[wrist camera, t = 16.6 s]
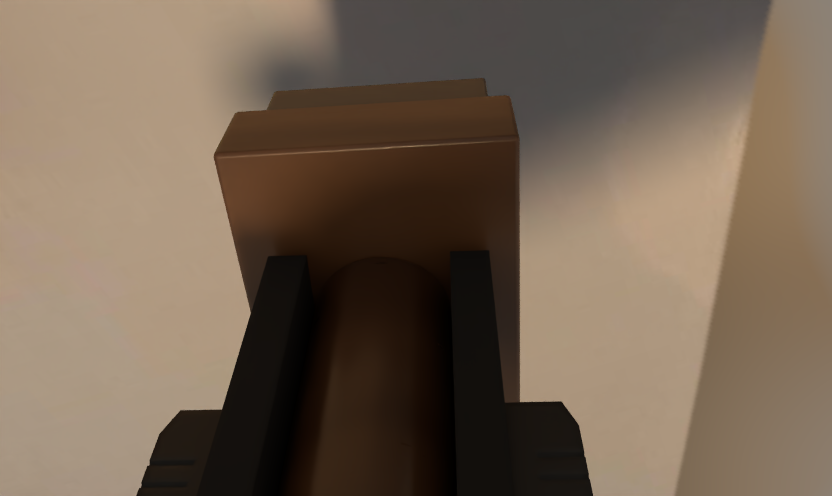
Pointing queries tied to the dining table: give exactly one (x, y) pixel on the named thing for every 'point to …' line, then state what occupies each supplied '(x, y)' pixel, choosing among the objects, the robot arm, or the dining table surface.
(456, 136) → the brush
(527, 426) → the robot arm
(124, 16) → the dining table surface
